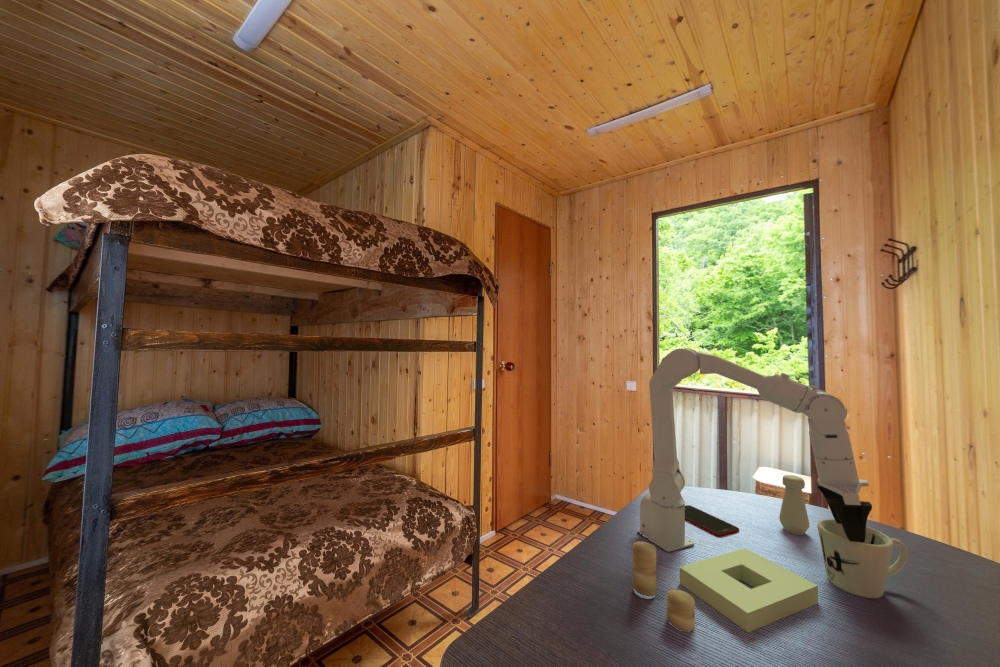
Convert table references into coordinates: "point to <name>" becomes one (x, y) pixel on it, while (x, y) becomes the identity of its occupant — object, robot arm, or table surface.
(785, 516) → the salt shaker
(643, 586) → the tall peg
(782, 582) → the hole board
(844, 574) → the mug
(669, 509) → the robot arm
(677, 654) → the table surface
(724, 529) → the cell phone
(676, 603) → the short peg
